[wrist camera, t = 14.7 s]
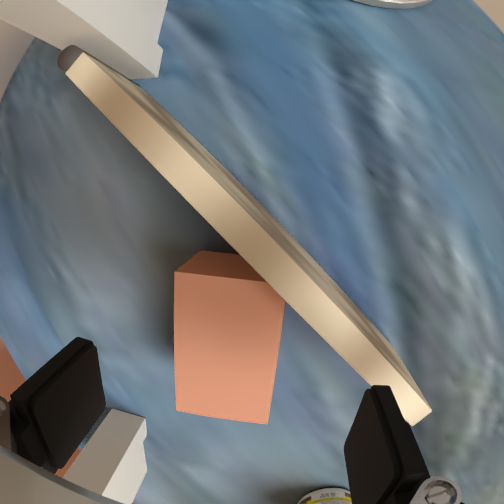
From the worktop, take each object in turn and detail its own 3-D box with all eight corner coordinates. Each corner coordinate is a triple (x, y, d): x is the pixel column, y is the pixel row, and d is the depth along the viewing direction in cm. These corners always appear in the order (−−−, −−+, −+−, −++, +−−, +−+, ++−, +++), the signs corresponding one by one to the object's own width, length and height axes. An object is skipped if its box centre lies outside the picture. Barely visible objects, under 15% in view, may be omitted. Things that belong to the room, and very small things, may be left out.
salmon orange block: (200, 250, 19) (174, 271, 14) (285, 258, 19) (287, 284, 14) (197, 365, 21) (176, 410, 16) (270, 375, 20) (267, 424, 15)
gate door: (120, 94, 17) (53, 61, 10) (132, 79, 17) (70, 40, 10) (378, 358, 19) (412, 426, 12) (392, 346, 19) (432, 411, 12)
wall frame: (140, -15, 16) (38, -128, 2) (180, -20, 15) (94, -155, 2) (123, 463, 24) (64, 569, 10) (152, 471, 24) (101, 586, 10)
